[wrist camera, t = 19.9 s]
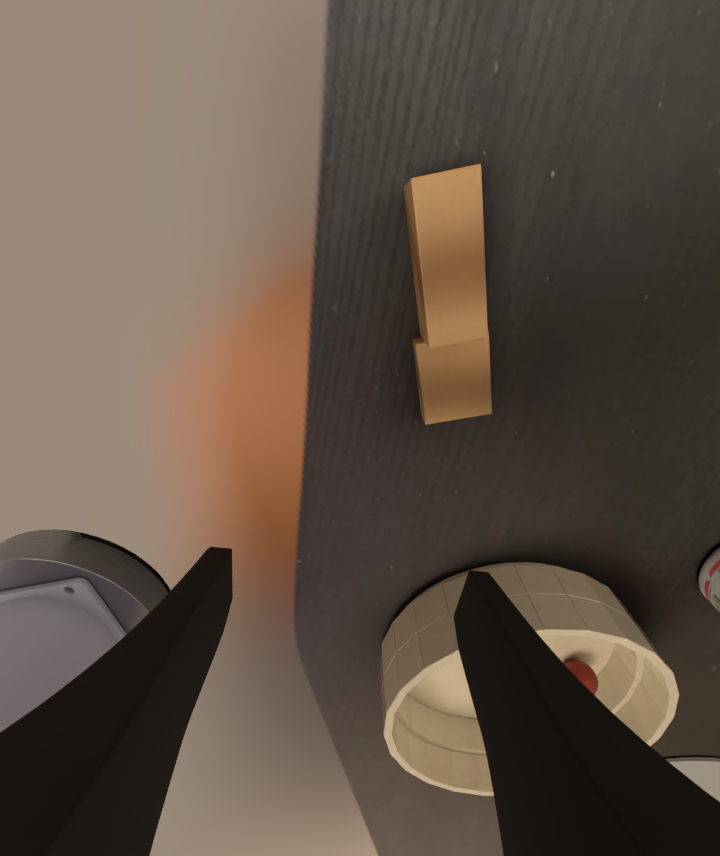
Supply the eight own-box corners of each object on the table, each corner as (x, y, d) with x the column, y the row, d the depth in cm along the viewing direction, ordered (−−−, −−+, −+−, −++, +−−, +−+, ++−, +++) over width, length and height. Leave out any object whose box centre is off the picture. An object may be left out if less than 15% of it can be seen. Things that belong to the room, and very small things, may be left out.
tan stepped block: (392, 188, 16) (399, 180, 13) (474, 170, 15) (493, 160, 13) (421, 415, 20) (429, 437, 18) (485, 404, 20) (501, 425, 17)
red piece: (604, 678, 27) (603, 708, 25) (570, 676, 28) (567, 704, 27) (591, 652, 27) (589, 680, 25) (558, 651, 28) (554, 678, 26)
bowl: (401, 728, 32) (409, 808, 28) (356, 582, 25) (356, 658, 20) (615, 699, 31) (660, 778, 26) (634, 535, 23) (700, 606, 19)
